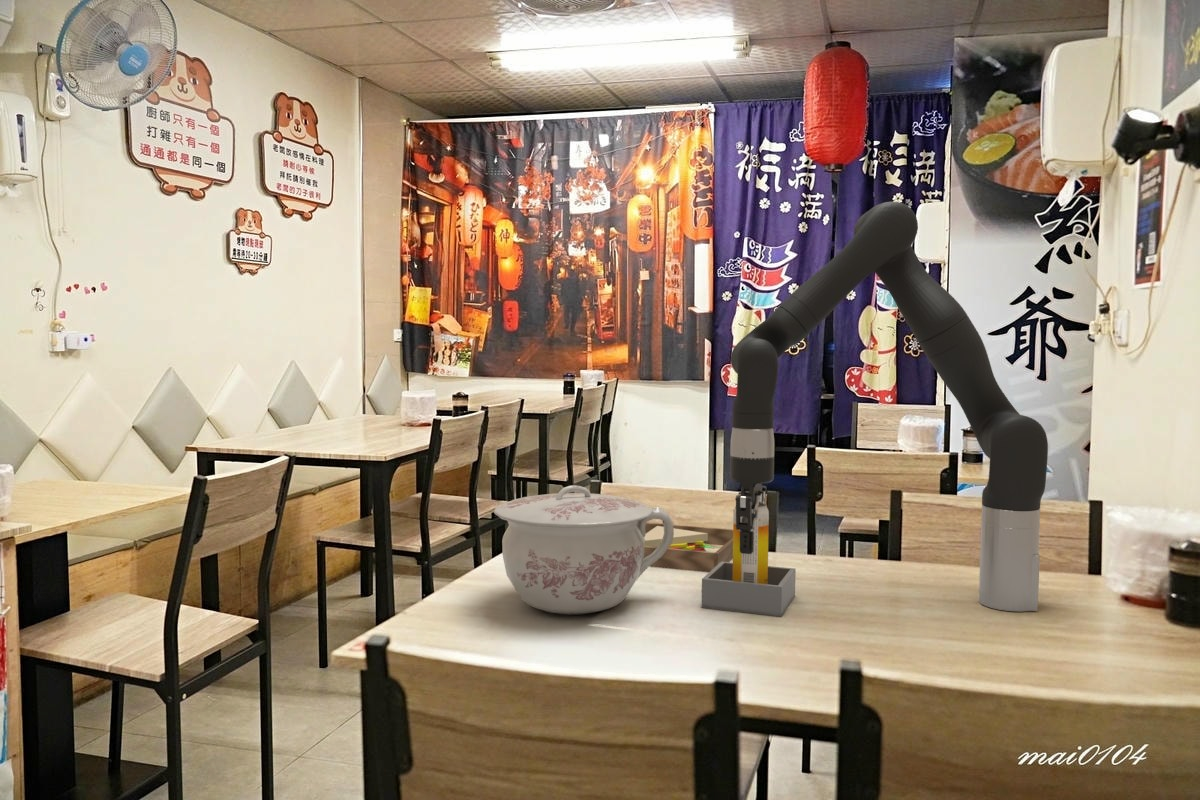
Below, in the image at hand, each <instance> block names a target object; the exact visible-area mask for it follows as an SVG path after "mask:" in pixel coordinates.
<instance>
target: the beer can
mask: <svg viewBox="0 0 1200 800" xmlns="http://www.w3.org/2000/svg"><path fill="white" fill-rule="evenodd" d="M754 511H755V507H754V509H752V513H754ZM732 513H733V516H732V517H733V518H732V519H733V520H732V523H733V524H732V525H733V527H732V530H733V559H732V563H733V580H732V581H739V582H749V583H759V584H768V566H769V527H770V525H769V524H770V523H769V521H770V517H769V516H770V511H769V508H768V506H767V503H766V504H764V503H763V505H760V506H759V510H758V518H757V519H756V520H755V525H754V538H753V552H752V553H751V554H744V553H741V552H740V531H739V530H737V529H736V505H735V506H734V508H733V512H732ZM743 523H748V519H747V518H744V519H743Z"/></svg>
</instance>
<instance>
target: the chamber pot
mask: <svg viewBox="0 0 1200 800" xmlns="http://www.w3.org/2000/svg"><path fill="white" fill-rule="evenodd" d="M493 513H494V514H495V516H497V517H498V518H499V519H501V520H503V521H507V523H508V525H507V528H506V530H505V532H504V534H503V536H502V541H501V543H502V544H501V545H502V553H501V555H502V558H503V563H504V568H505V575H506V576H507V578H508V580H509V581H510V583H511V585H512V586H513V588H514V589H515V590H516V592H517V595H518V597H520V598H521V600H522V601H524V602H525V603H526V604H527V605H528V606H530V607H532V608H535V609H538V610H541V611H543V612H547V613H551V614H556V615H567V616H575V615H578V616H579V615H590V614H594V613H600V612H602V611H605V610H609V609H611V608H614V607H617V606H618V605H619V604H620V603H622V602H623V601H624V600H625V599H626V597H627V596H628V595H629V593H630V592H631V590H632V588H633V587H634V585H635V583H636V582H637V581H638V579H639V578H640V577H641V576H642V575H643V573H645V571H646V570H647V569H648V568H650V567H649V566H650V565H652V564H653V563H654V562H655V561H657V560H658V559H659V558H661V557H662V556H663V554H664V553H665V552H666V550H667V549H668V548H669V546H670V545H671V543H672V540H673V536H674V529H673V525H674V522H673V520H672V518H671V517H670V515H669V513H668V512H667V511H666V510H665V509H662V508H661V507H660V506H654V507H653V508H652V506H650V505H648V504H645V503H643V502H641V501H636V500H634V499H632V498H626V497H624V496H623V497H622V496H617V495H609V494H601V493H591V491H590V490H589V489H588V488H586V487H584V486H582V485H576V484H573V485H568V486H565V487H563V488H562V489H560V491H558V493H557V492H556V493H546V494H539V495H538V494H537V495H529V496H523V497H520V498H515V499H512V500H510V501H505V502H502V503H501V504H499V505H497V506H495V508H494V509H493ZM652 520H661V521H662V524H663V525H664V535H663V539H662V542H661V543H660V544H659V545H658V547H657V548H656V549H655V550H654V552H653V553H652V554H650V555H649V556H647V557H646V558H644V545H645V539H644V537H645V536H646V534H645V525H646V523H649V521H652ZM643 558H644V559H643Z"/></svg>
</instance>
